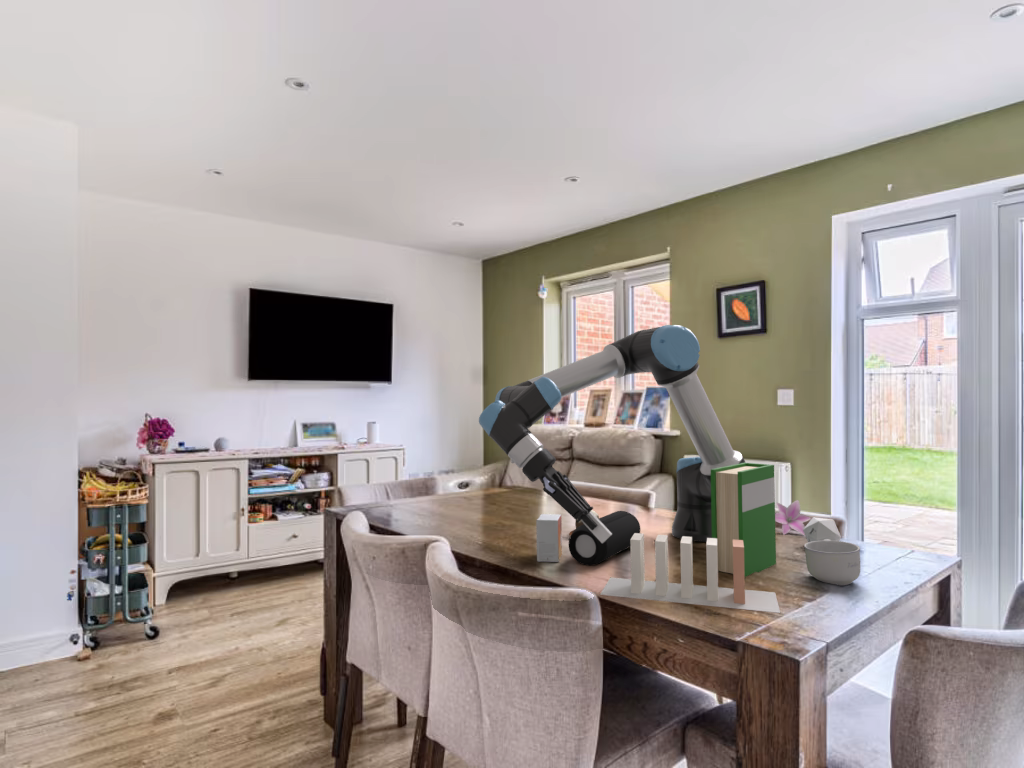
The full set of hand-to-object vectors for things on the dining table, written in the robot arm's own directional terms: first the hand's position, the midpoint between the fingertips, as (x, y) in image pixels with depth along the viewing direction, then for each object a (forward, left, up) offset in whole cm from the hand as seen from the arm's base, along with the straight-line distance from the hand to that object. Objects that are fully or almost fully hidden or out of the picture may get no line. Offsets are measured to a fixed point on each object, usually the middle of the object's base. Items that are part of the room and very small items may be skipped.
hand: (607, 538), depth 128 cm
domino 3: (-14, +8, -10) cm, 19 cm away
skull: (-11, -48, -11) cm, 51 cm away
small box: (+6, -26, -11) cm, 29 cm away
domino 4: (-19, +10, -10) cm, 24 cm away
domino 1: (-6, +3, -10) cm, 12 cm away
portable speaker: (-9, -25, -11) cm, 29 cm away
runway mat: (-14, +8, -11) cm, 20 cm away
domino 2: (-10, +5, -10) cm, 15 cm away
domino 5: (-23, +13, -10) cm, 28 cm away
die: (-67, -19, -11) cm, 70 cm away
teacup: (-51, +5, -11) cm, 52 cm away
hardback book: (-37, -7, -11) cm, 39 cm away
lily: (-70, -37, -11) cm, 80 cm away
